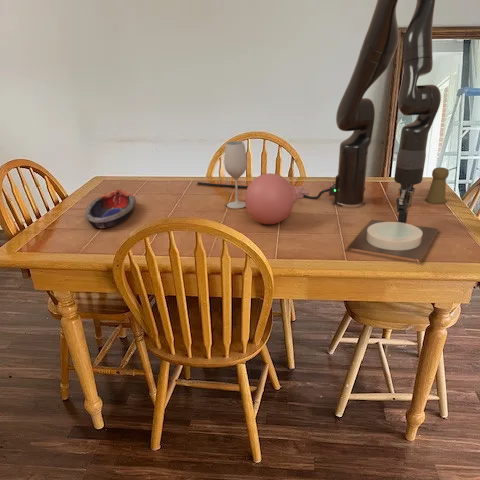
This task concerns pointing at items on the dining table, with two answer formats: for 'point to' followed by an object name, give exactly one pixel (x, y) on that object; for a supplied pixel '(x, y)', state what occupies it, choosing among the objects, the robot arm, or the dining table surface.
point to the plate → (394, 236)
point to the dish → (110, 209)
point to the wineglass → (235, 166)
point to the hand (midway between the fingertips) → (401, 224)
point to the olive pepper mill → (438, 185)
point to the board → (413, 253)
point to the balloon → (271, 198)
